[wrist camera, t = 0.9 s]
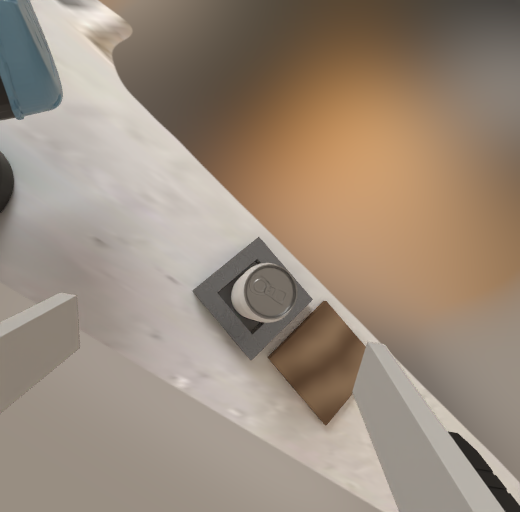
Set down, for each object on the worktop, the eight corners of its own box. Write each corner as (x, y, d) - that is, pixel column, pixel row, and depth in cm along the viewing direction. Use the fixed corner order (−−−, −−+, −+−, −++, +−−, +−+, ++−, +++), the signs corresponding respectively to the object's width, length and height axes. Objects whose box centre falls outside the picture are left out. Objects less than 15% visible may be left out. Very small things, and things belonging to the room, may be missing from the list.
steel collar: (193, 292, 35) (192, 290, 33) (255, 241, 38) (258, 236, 36) (248, 356, 35) (251, 360, 32) (306, 300, 38) (312, 299, 36)
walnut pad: (267, 357, 35) (269, 358, 34) (323, 301, 39) (326, 301, 38) (322, 422, 35) (325, 425, 34) (374, 360, 38) (378, 361, 37)
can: (242, 267, 37) (257, 249, 26) (280, 286, 38) (310, 277, 26) (222, 306, 36) (228, 305, 24) (261, 326, 36) (286, 335, 24)
